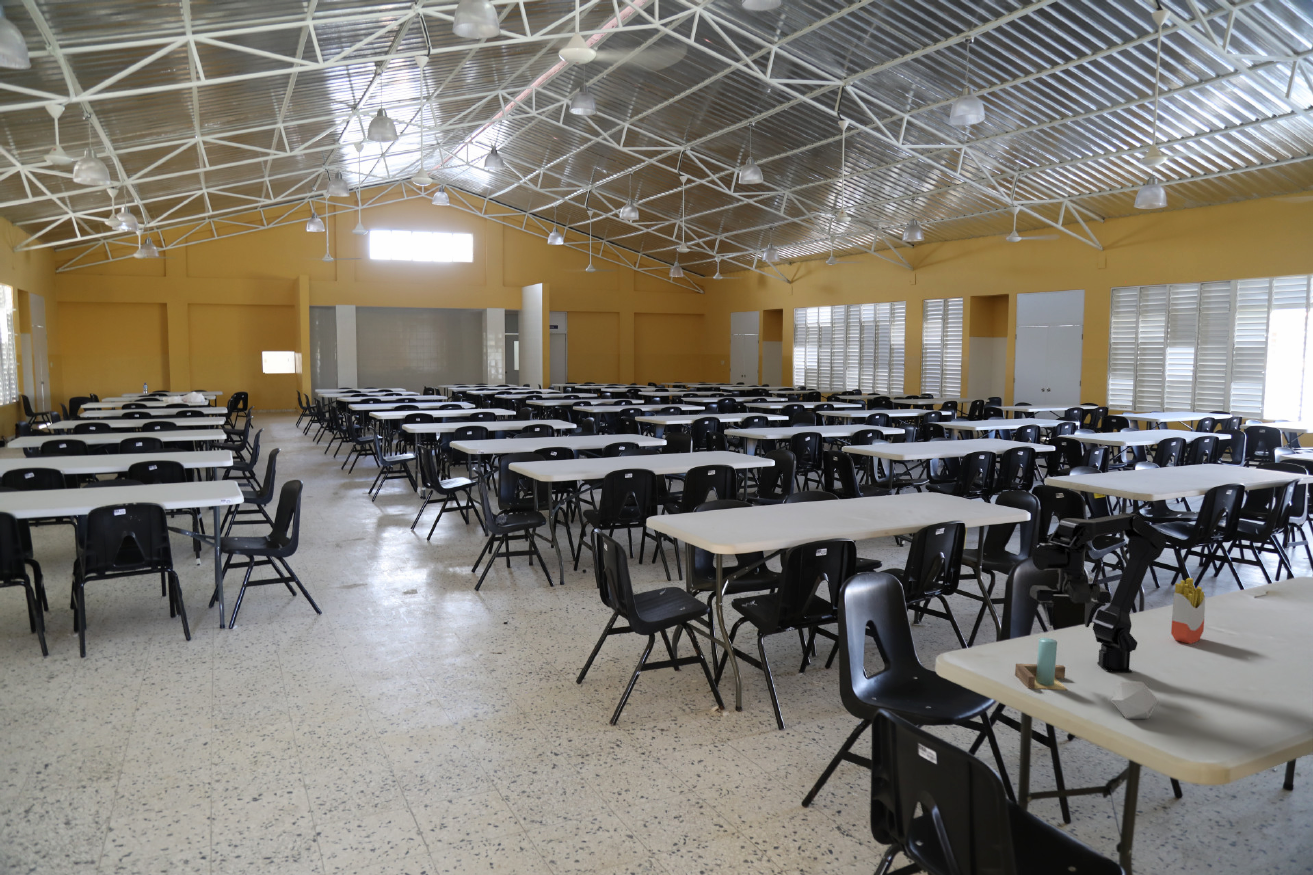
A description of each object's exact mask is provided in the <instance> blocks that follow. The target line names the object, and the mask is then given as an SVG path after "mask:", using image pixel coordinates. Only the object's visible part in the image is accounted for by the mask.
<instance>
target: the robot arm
mask: <svg viewBox="0 0 1313 875" xmlns="http://www.w3.org/2000/svg"><path fill="white" fill-rule="evenodd" d="M1119 532H1122V533H1123V534H1124V536H1125V537H1126V538H1127V539H1128V542H1127V544H1126V547H1127V552H1128V558H1127V559H1128V560H1127V562H1126V564H1125V567H1124V569H1123V572H1122V574H1121V576H1120V579H1119V582H1118V584H1117V586H1116V589H1115V592H1114V594H1113V595H1112V593H1111V592H1110V591H1109V590H1107V589H1105V588H1104V587H1101V585H1100V584H1099V583H1098V582H1097V583H1095V582H1092V583H1088V582H1087V575H1086V574H1085V560H1086V558H1085V555H1086V554H1085V553H1086V552H1090V551H1092V550H1093V548H1092V547H1091V546H1090V545H1089V544H1088V542H1091V541H1093V540H1094V539H1095V538H1096V537H1099V536H1103V535H1108V534H1115V533H1119ZM1166 546H1167V538H1166V537H1165V534H1164V533H1163V532H1161V531H1159V530H1158V529H1157V528H1156V527H1154V526H1153V525H1151V524H1150V523H1148V522H1147V521H1145V520H1144V518H1143V517H1141V516H1140V515H1138V514H1135V513H1129V512H1121V513H1119V514H1114V515H1108V516H1103V517H1096V518H1091V519H1083V518H1075V517H1074V518H1073V517H1072V518H1071V517H1070V518H1069V517H1068V518H1066V517H1065V518H1062V519H1060V522H1059V523H1058V525H1057V526H1056V528H1055V529H1054V531H1053V533H1052V535H1051V536H1050V537H1049V539H1048V540H1047V543H1044V542H1040V543H1039V544H1038V548H1037V547H1036V549H1035V550H1034V552H1033V554H1032V559H1031V560H1032V563H1033V565H1034V567H1035V568H1036V569H1037V570H1039V571H1047V570H1048V571H1050V570H1051V571H1052V570H1057V574H1058V583H1056V589H1051V588H1050V587H1049V586H1047V585H1032V586H1031V587H1030V589H1029V596H1030V597H1031V598H1033V599H1034V600H1036V601H1038V603H1039V604H1040V606H1041V607H1042V610H1043V612H1044V615H1045V618H1046V621H1047V623H1048V626H1049V627H1052V626H1053V621H1054V617H1053V606H1054V604H1055V602H1054V601H1052V600H1053V599H1054V598H1068V599H1070V602H1072V603H1074V604H1079V603H1083V604H1085V605H1084V626H1085V628H1089V627H1090V625H1091V623H1093V624H1092V631H1093V633H1094V637H1095V640H1096V642H1097V643H1100V645H1101V646H1100V649H1099V650H1098V661H1097V665H1098V666H1100V667H1101V668H1102V669H1103V670H1105V671H1106V672H1109V673H1133V670H1132V669H1131V668H1130V664H1131V663H1130V661H1131V653H1132V652H1133V651H1136V649H1137V646H1138V641H1137V640H1136V639H1135V637H1134V636H1133V635H1132V634H1131V629H1132V621H1131V616H1130V614H1131V611H1132V608H1133V606H1134V604H1135V600H1137V599H1136V598H1137V596H1138V593H1139V591H1140V588H1141V586H1142V584H1143V581H1144V578H1145V576H1146V573H1147V572H1148V569H1149V566H1150V564H1152V563H1153V562H1155V561H1156V560H1157V559H1159V558H1160V556H1161V555H1162V554H1163V552H1164V550H1165V548H1166ZM1107 604H1109V605H1108V606H1107V607H1106V608H1105V609H1101V608H1102V607H1105V606H1106V605H1107ZM1094 616H1095V618H1094ZM1093 618H1094V619H1093Z"/></svg>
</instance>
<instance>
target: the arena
mask: <svg viewBox="0 0 1313 875" xmlns="http://www.w3.org/2000/svg"><path fill="white" fill-rule="evenodd" d="M1014 671H1015V672H1014V674H1015V675H1014V676H1015V677H1016V678H1018V680H1019V681H1021V683H1022V684H1024V686H1025V687H1026V689H1032V690H1034V689H1035V690H1056V691H1057V690H1058V691H1059V690H1060V691H1061V690H1062V691H1067V690H1068V688H1067V687H1066V686H1065V685H1063V684H1062V683H1061V682H1060V681H1059V680H1058V679H1063V680H1064V679H1065V677H1066V666H1064V664H1063V665H1061V664H1056V665H1055V678H1054V685H1052V686H1046V685H1041V684H1039V683H1037V682H1036V675H1037V663H1035V664H1032V663H1015V670H1014Z"/></svg>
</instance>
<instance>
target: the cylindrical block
mask: <svg viewBox="0 0 1313 875" xmlns="http://www.w3.org/2000/svg"><path fill="white" fill-rule="evenodd" d="M1037 646H1038V648H1037V649H1038V650H1037V663H1036V664H1037V675H1036V682H1037V683H1039V684H1041V685H1046V686H1052V685H1054V678H1055V665H1057V663H1056V662H1057V661H1056V659H1057V649H1058V648H1057V647H1058V641H1057V640H1056V639H1053V638H1049V637H1040V638H1039V639H1038V645H1037Z"/></svg>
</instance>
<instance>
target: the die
mask: <svg viewBox="0 0 1313 875" xmlns="http://www.w3.org/2000/svg"><path fill="white" fill-rule="evenodd" d="M1110 700H1111V702H1112V703H1113V704H1114V705H1115V706H1116V708H1117V709H1118V710H1119V712H1120V713H1121V714H1122V715H1123V716H1124V718H1125V719H1131V720H1132V719H1133V720H1134V719H1135V720H1136V719H1137V720H1139V719H1140V720H1141V719H1143V720H1145V719H1146V720H1148V719H1149V717H1150V715H1151V714H1152V712H1153V710H1154V708H1155V707H1156V705H1157V703H1158V702H1159V699H1158V698H1157V697H1156V695H1155V694H1153V692H1152V691H1151V690H1150V689H1149V687H1147V685H1146V684H1145V683H1144V682H1143V681H1120V682H1119V685H1118V686H1117V688H1116V690H1115V692H1114V693H1113V695H1112V697H1111V699H1110Z"/></svg>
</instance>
